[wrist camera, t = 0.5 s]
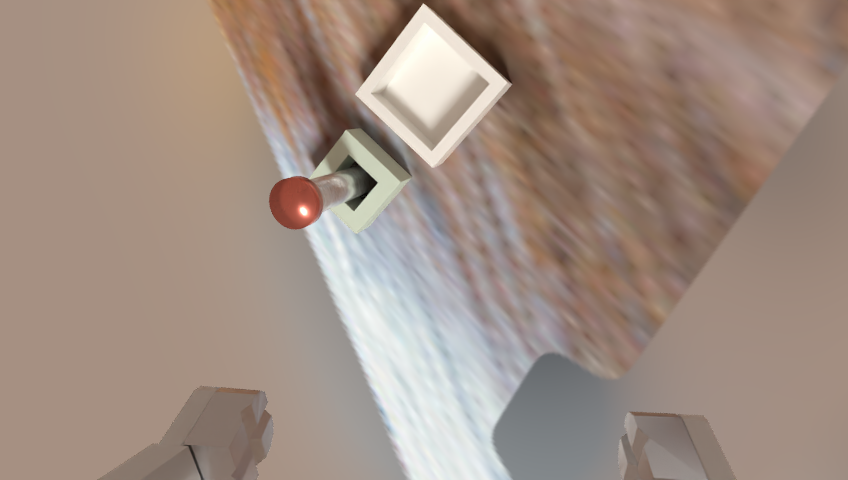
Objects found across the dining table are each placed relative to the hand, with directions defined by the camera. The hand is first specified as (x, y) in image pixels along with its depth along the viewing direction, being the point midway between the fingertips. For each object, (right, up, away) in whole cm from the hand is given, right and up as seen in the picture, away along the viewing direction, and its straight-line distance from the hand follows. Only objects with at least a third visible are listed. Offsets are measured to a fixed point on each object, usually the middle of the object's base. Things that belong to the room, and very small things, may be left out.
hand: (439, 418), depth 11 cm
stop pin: (-7, +11, +47) cm, 48 cm away
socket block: (-7, +11, +47) cm, 48 cm away
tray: (+1, +20, +42) cm, 46 cm away
